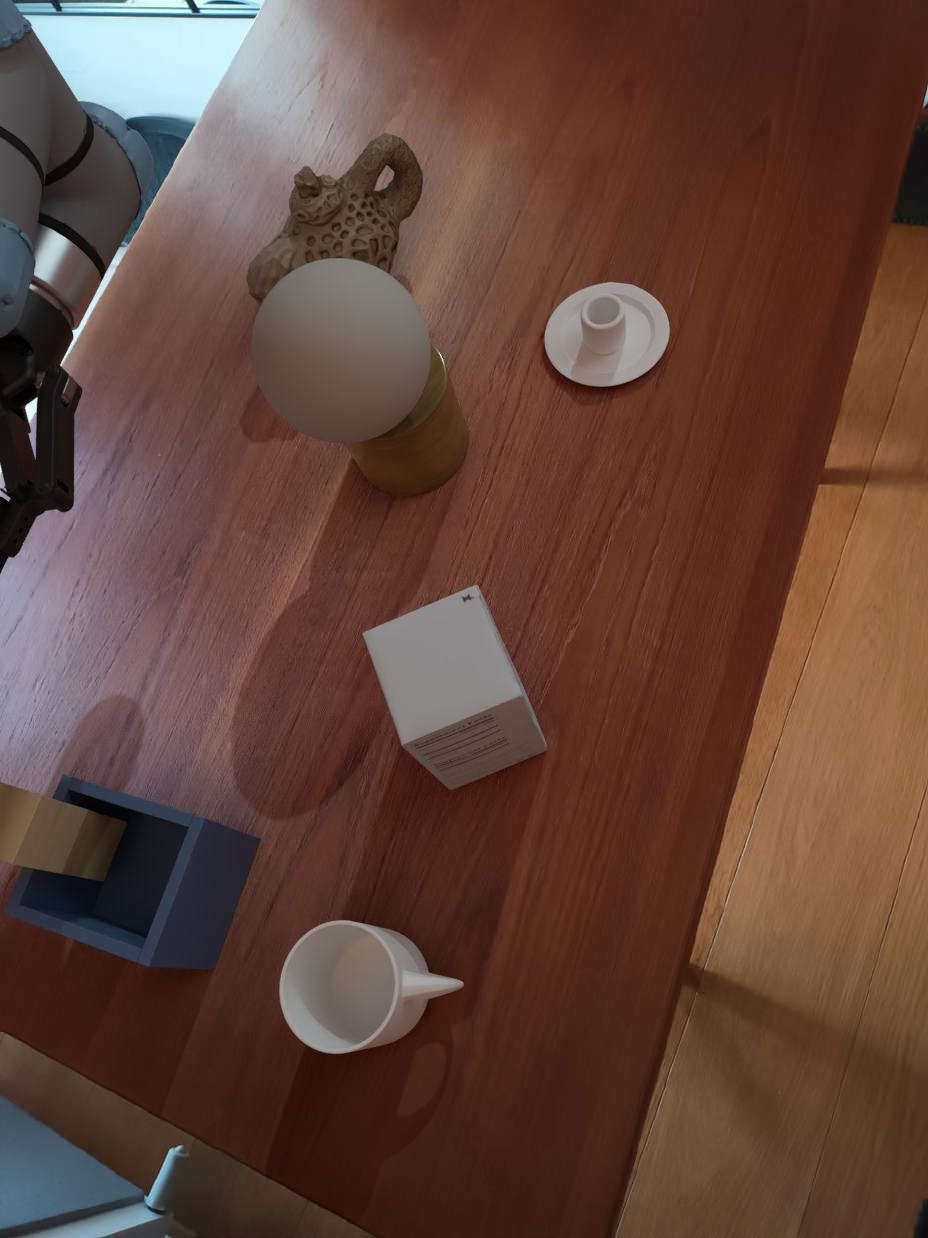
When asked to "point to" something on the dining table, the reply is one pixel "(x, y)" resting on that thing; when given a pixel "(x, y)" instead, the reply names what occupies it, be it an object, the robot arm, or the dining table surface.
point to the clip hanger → (56, 835)
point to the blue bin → (144, 884)
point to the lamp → (360, 373)
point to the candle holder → (607, 334)
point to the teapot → (343, 215)
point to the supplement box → (454, 690)
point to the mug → (356, 987)
